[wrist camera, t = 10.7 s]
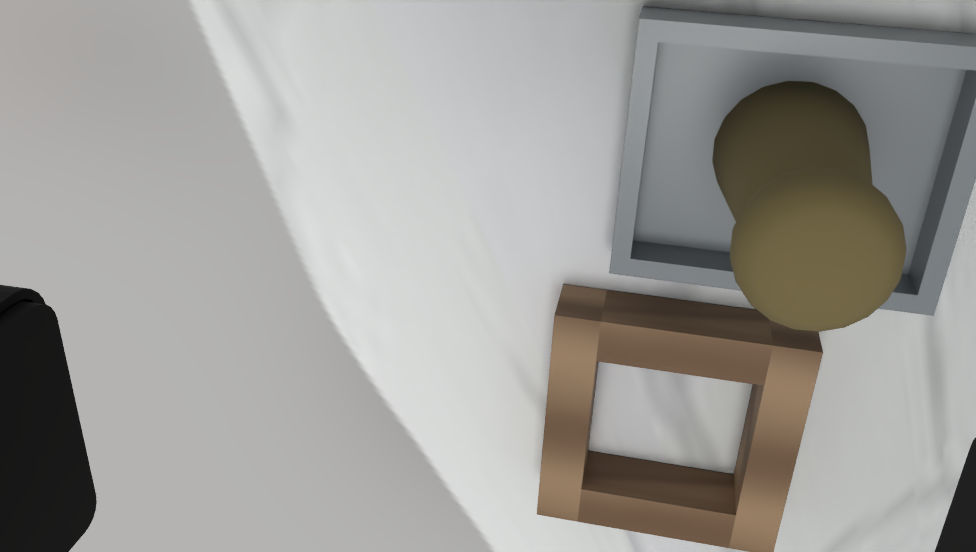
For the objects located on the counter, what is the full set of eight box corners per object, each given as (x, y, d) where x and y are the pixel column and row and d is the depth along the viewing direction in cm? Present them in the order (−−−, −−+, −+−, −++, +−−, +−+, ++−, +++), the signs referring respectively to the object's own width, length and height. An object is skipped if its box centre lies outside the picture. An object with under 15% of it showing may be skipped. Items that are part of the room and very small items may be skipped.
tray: (642, 6, 36) (639, 18, 34) (994, 35, 34) (1014, 50, 32) (614, 248, 41) (609, 273, 39) (920, 287, 39) (933, 315, 36)
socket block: (563, 284, 42) (554, 315, 39) (814, 317, 40) (822, 352, 38) (545, 475, 47) (536, 514, 45) (768, 513, 45) (772, 555, 43)
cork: (901, 161, 36) (977, 287, 26) (774, 250, 39) (800, 394, 29) (805, 47, 35) (847, 137, 25) (681, 148, 37) (676, 262, 28)
